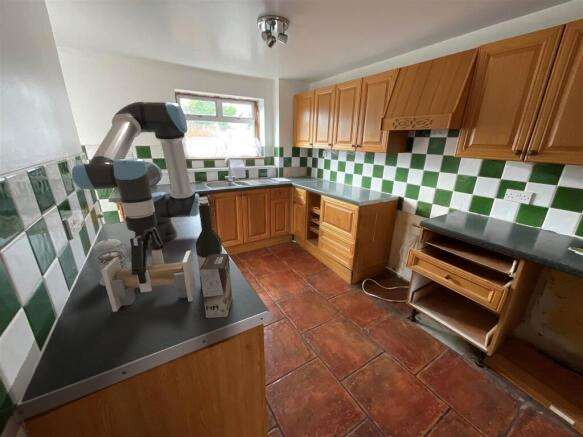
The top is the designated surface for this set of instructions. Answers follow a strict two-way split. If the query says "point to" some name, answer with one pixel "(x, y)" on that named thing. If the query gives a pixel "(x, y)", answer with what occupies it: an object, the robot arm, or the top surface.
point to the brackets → (127, 296)
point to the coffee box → (216, 285)
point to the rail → (151, 275)
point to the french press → (109, 255)
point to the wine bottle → (206, 237)
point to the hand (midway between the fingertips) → (153, 278)
